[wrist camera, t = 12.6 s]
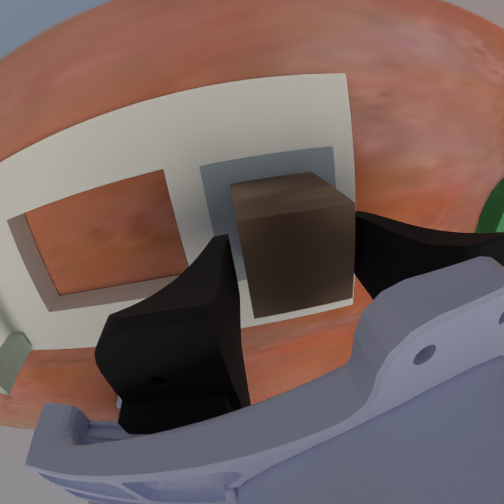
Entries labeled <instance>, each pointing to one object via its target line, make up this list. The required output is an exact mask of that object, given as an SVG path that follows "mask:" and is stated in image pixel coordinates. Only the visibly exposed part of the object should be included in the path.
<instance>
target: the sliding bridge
mask: <svg viewBox="0 0 504 504" xmlns="http://www.w3.org/2000/svg"><path fill="white" fill-rule="evenodd" d="M31 348H32V347H31V346H30V345H29V343H28V342H27V340H26V339H25V337H24V336H23V334H12V335H8V336H7V338H6V339H5V341H4V343H3V344H2V346H1V347H0V393H1V394H7V395H9V393H10V390H11V388H12V386H13V384H14V382H15V380H16V378H17V376H18V373H19V371H20V369H21V367H22V366H23V364H24V362H25V360H26V358H27V356H28V354H29V352H30V350H31Z"/></svg>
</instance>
